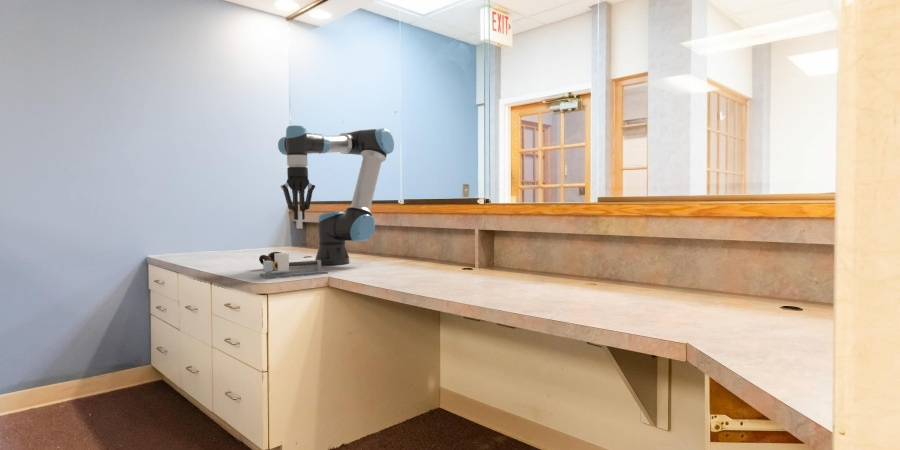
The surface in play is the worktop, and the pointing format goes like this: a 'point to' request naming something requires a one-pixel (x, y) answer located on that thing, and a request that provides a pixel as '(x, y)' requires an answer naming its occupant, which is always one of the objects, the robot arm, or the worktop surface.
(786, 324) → the worktop surface
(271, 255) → the pottery mug
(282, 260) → the sleeve
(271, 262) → the cord jig
